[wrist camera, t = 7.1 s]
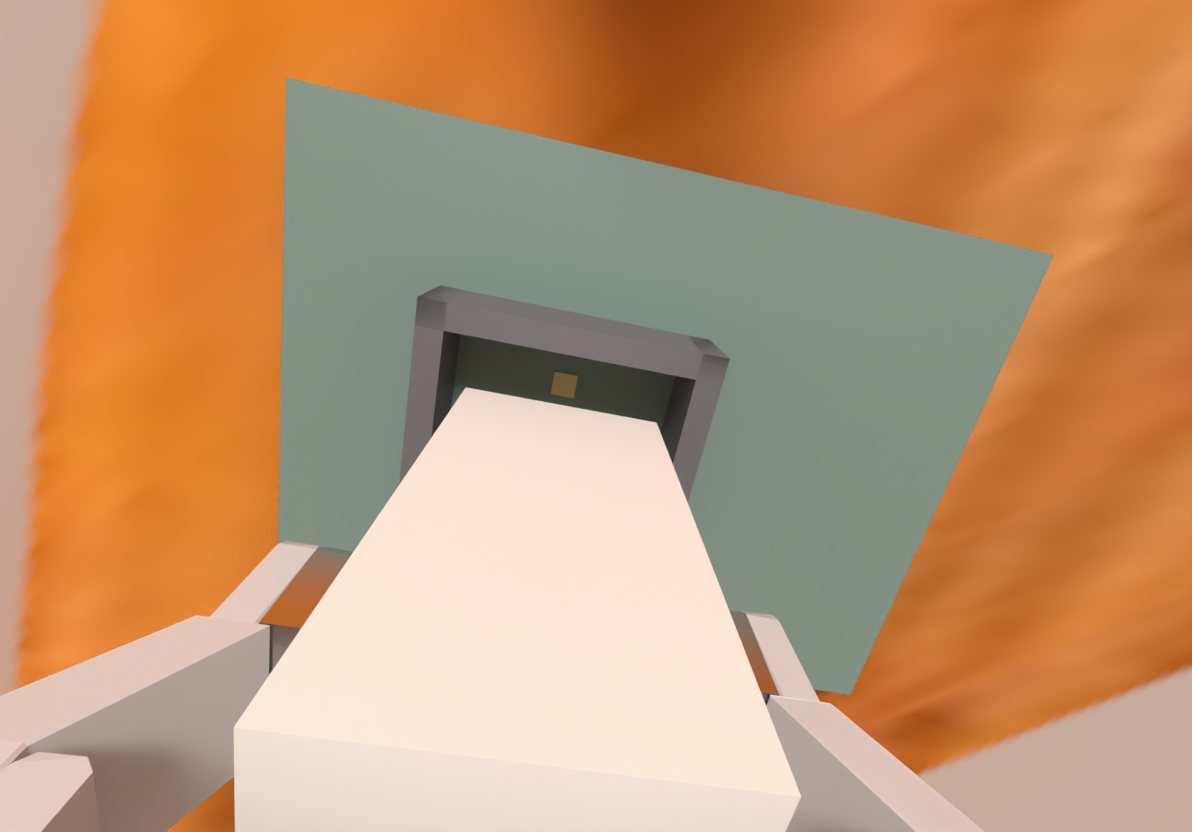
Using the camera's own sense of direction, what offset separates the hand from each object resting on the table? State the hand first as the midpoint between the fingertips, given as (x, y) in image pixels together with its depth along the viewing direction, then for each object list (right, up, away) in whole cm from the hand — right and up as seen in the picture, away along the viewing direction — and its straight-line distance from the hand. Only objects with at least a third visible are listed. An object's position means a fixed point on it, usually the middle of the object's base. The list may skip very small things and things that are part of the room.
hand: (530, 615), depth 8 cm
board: (+2, +2, +8) cm, 8 cm away
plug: (0, +1, +4) cm, 4 cm away
